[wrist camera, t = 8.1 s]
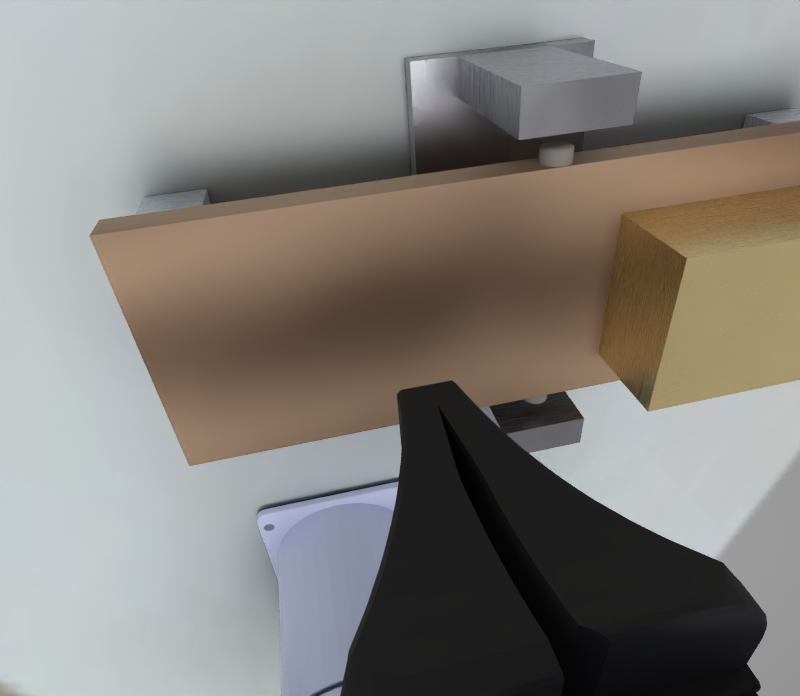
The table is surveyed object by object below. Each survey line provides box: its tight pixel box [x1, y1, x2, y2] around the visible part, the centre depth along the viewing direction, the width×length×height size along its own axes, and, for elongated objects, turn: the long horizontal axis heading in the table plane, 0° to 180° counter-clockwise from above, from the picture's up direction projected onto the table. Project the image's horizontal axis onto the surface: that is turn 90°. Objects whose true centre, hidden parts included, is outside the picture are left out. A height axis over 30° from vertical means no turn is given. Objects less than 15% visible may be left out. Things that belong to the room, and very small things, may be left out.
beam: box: [90, 120, 800, 466], centre depth 16 cm, size 9×24×4 cm, turn 94°
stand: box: [136, 38, 800, 453], centre depth 19 cm, size 12×24×6 cm, turn 94°
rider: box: [598, 185, 800, 411], centre depth 16 cm, size 5×6×3 cm
